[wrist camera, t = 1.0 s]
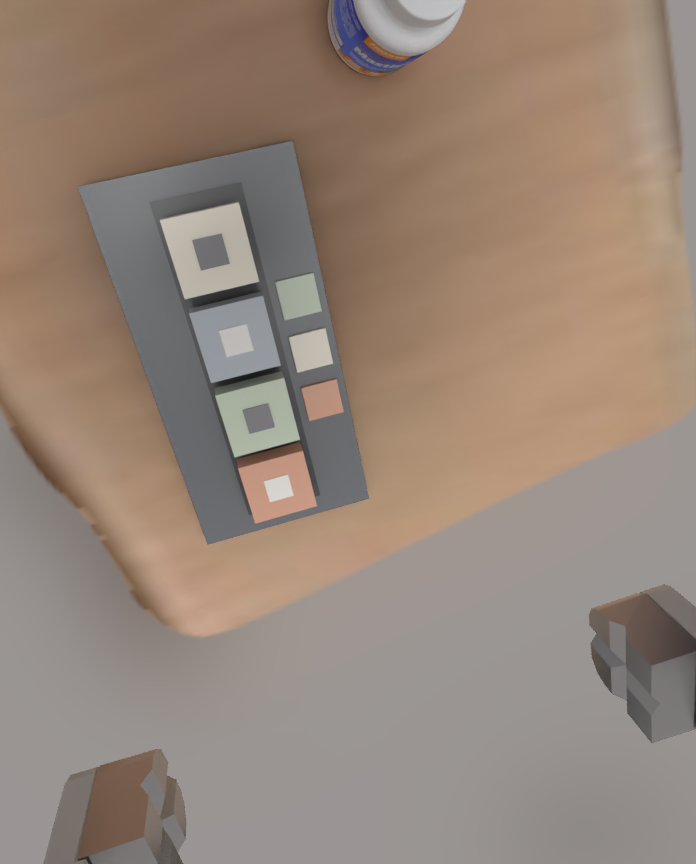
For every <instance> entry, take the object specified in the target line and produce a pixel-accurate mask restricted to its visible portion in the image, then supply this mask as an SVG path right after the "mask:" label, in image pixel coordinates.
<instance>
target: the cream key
mask: <svg viewBox="0 0 696 864" xmlns="http://www.w3.org/2000/svg"><path fill="white" fill-rule="evenodd" d="M160 223H161V226H162V229H163V232H164V236H165V239H166V242H167V245H168V248H169V251H170V255H171V258H172V261H173V264H174V267H175V270H176V274H177V277H178V280H179V283H180V286H181V289H182V293H183V296H184V299H189V298H193V297H197V296H201V295H205V294H210V293H214V292H218V291H222V290H226V289H231V288H235V287H239V286H243V285H247V284H251V283H256V282H259V279H258V275H257V271H256V267H255V263H254V259H253V255H252V251H251V248H250V244H249V240H248V236H247V232H246V228H245V224H244V220H243V217H242V213H241V209H240V205H239V202H234V203H229V204H225V205H220V206H216V207H211V208H207V209H202V210H198V211H193V212H189V213H185V214H180V215H176V216H171V217H167V218H162V219H161V220H160Z"/></svg>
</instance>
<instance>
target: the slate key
mask: <svg viewBox="0 0 696 864" xmlns="http://www.w3.org/2000/svg"><path fill="white" fill-rule="evenodd" d="M189 315H190V318H191V321H192V324H193V327H194V331H195V334H196V337H197V340H198V343H199V347H200V350H201V353H202V356H203V359H204V362H205V366H206V369H207V372H208V375H209V378H210V381H211V383H214V382H218V381H222V380H226V379H230V378H234V377H238V376H241V375H245V374H249V373H253V372H257V371H261V370H265V369H269V368H273V367H277V366H280V365H281V364H280V360H279V356H278V352H277V348H276V345H275V341H274V337H273V333H272V329H271V325H270V321H269V317H268V314H267V310H266V306H265V302H264V298H263V295H262V293H261V292H257V293H253V294H248V295H244V296H240V297H236V298H232V299H228V300H224V301H219V302H215V303H211V304H207V305H203V306H199V307H195V308H190V311H189Z"/></svg>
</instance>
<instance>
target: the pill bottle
mask: <svg viewBox="0 0 696 864" xmlns="http://www.w3.org/2000/svg"><path fill="white" fill-rule="evenodd" d="M465 2H466V0H330V1H329V6H328V17H327V18H328V29H329V34H330V38H331V41H332V43H333V46H334V48H335V50H336V52H337V53H338V55H339V56H340V57H341V59H342V60H343V61H344V62H345V63H346V64H347V65H348V66H350V67H351V68H352V69H354V70H355V71H357V72H359V73H362V74H365V75H370V76H381V75H386V74H389V73H392V72H394V71H396V70H398V69H400V68H401V67H403V66H405V65H406V64H408V63H409V62H411V61H413V60H414V59H416V58H418V57H419V56H421V55H423V54H424V53H426V52H428V51H429V50H431V49H433V48H434V47H436V46H437V45H438V44H440V43H441V42H442V41H444V40H445V39H446V38H447V36H448V35H449V34H450V33H451V32H452V30H453V29H454V27H455V26H456V24H457V23H458V20H459V18H460V16H461V14H462V11H463V8H464V4H465Z"/></svg>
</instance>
